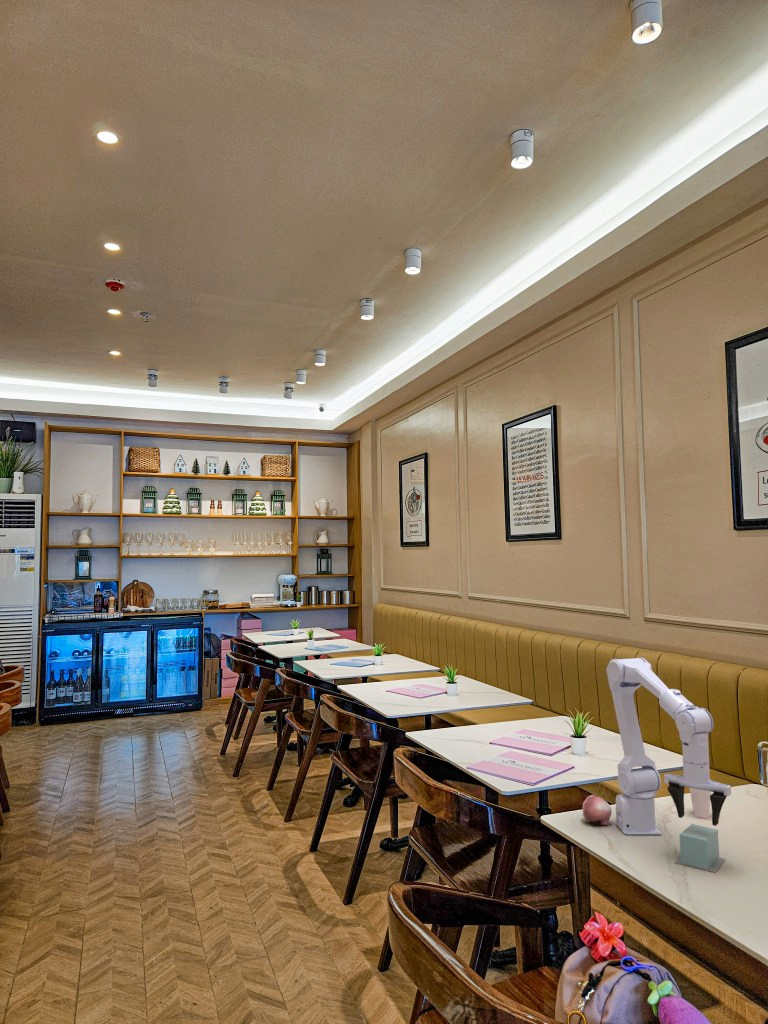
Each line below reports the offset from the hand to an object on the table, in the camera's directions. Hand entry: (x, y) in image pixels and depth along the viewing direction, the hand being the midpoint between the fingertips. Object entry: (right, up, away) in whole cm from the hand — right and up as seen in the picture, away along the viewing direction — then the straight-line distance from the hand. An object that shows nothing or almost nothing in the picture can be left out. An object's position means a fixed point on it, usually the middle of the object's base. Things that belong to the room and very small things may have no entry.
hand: (698, 820), depth 164 cm
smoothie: (+14, -12, +29) cm, 34 cm away
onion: (-16, -12, +24) cm, 31 cm away
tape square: (0, -9, -1) cm, 9 cm away
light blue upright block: (0, -9, -1) cm, 9 cm away
